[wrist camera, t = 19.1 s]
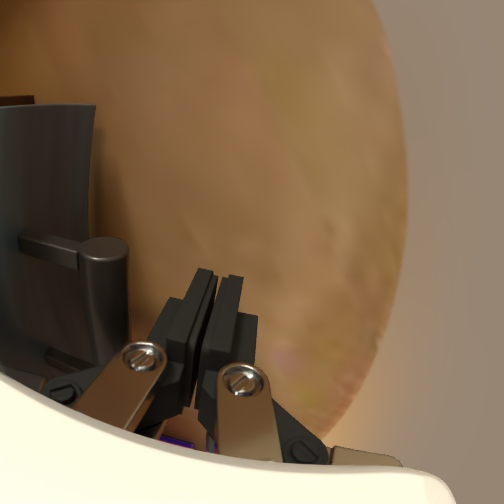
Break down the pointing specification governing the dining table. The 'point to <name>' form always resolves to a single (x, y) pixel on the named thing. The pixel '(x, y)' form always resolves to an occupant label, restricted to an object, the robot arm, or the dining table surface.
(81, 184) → the drawer
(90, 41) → the dining table surface
